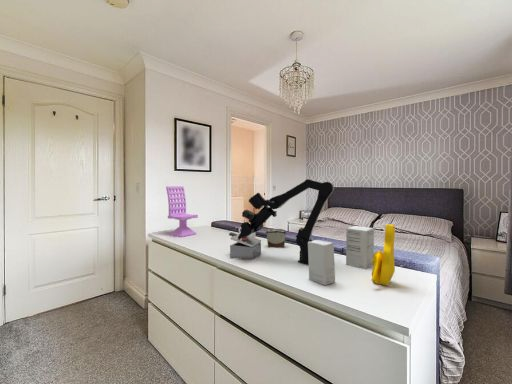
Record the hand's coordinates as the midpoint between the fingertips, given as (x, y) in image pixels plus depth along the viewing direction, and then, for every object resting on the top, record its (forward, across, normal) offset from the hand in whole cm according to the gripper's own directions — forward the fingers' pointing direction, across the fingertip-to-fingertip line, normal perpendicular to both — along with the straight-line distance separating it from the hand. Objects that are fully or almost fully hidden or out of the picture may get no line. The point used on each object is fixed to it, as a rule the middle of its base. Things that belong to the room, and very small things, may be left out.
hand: (242, 236), depth 130 cm
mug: (+12, -25, +1) cm, 28 cm away
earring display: (+51, -34, -38) cm, 72 cm away
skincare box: (-23, +21, +37) cm, 48 cm away
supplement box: (-33, -5, +47) cm, 57 cm away
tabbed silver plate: (+1, 0, +1) cm, 1 cm away
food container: (-1, -25, +15) cm, 29 cm away
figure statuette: (-38, +15, +52) cm, 66 cm away
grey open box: (+5, 0, +8) cm, 10 cm away
